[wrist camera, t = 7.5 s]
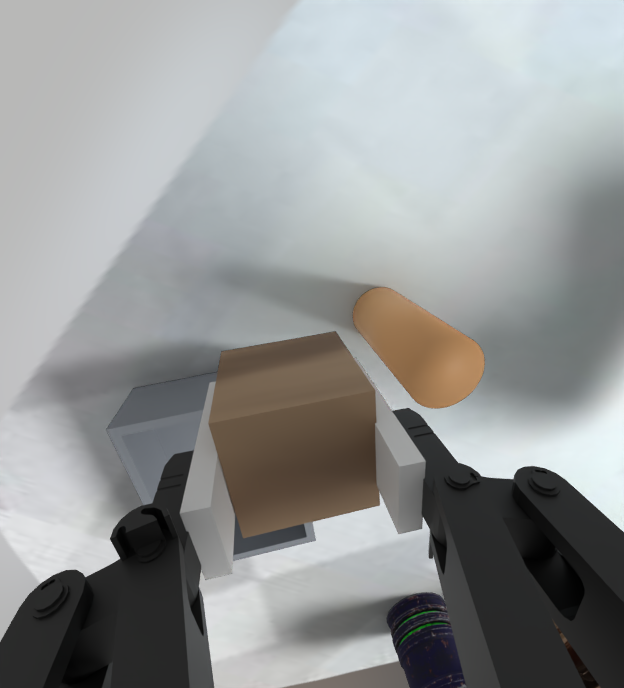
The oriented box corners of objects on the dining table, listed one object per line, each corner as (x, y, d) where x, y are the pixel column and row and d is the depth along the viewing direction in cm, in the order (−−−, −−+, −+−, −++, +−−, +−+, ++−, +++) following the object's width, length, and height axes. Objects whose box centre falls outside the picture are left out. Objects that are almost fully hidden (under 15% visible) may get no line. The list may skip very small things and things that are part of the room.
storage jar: (398, 592, 49) (453, 740, 36) (454, 591, 52) (525, 730, 38) (377, 631, 53) (420, 780, 39) (430, 629, 55) (488, 769, 41)
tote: (133, 388, 30) (105, 429, 24) (280, 359, 31) (286, 392, 26) (189, 520, 37) (178, 574, 32) (307, 492, 38) (315, 540, 33)
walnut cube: (221, 351, 14) (208, 423, 9) (335, 331, 14) (375, 390, 10) (244, 442, 16) (243, 538, 11) (343, 422, 17) (379, 505, 12)
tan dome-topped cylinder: (369, 278, 29) (437, 322, 18) (413, 300, 31) (500, 353, 20) (343, 326, 31) (391, 393, 20) (386, 345, 32) (453, 417, 21)
